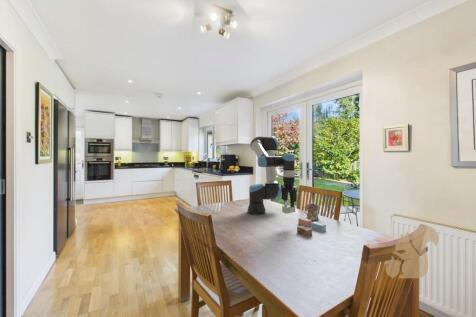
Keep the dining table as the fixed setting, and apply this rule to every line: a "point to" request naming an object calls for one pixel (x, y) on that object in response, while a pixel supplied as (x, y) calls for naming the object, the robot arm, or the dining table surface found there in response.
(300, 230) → the walnut brick
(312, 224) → the blue brick
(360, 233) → the dining table surface
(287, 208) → the sage brick
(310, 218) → the mug
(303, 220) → the terracotta brick
